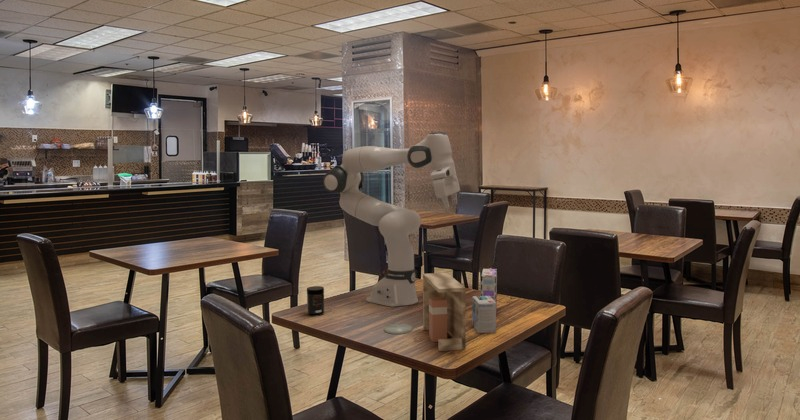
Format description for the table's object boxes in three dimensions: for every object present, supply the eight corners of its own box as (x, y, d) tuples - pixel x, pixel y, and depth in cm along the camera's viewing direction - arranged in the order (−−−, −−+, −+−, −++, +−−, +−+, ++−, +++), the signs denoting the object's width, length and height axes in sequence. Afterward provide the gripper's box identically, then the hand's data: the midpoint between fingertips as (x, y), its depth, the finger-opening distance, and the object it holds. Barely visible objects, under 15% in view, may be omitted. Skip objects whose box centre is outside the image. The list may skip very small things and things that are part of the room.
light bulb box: (471, 324, 210) (471, 295, 208) (489, 323, 210) (489, 295, 209) (477, 333, 199) (478, 303, 198) (496, 332, 199) (497, 302, 198)
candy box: (495, 318, 217) (496, 275, 215) (480, 317, 218) (480, 275, 217) (497, 308, 231) (497, 268, 229) (482, 307, 232) (482, 267, 230)
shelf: (439, 351, 181) (438, 289, 179) (423, 329, 204) (422, 273, 202) (465, 349, 183) (465, 287, 181) (446, 327, 206) (446, 272, 204)
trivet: (378, 331, 202) (378, 329, 202) (392, 324, 211) (392, 322, 211) (403, 335, 197) (403, 333, 197) (416, 327, 206) (416, 325, 206)
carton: (432, 341, 190) (432, 301, 189) (429, 337, 195) (428, 297, 194) (447, 340, 191) (446, 300, 190) (443, 336, 196) (443, 296, 195)
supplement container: (319, 310, 230) (319, 285, 229) (327, 314, 225) (326, 288, 224) (304, 313, 226) (303, 287, 225) (312, 317, 221) (311, 291, 220)
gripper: (445, 171, 236) (451, 203, 237) (428, 175, 218) (435, 211, 219) (459, 168, 234) (466, 201, 235) (443, 172, 215) (450, 208, 216)
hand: (451, 206), depth 226 cm, fingers open, 8 cm apart
